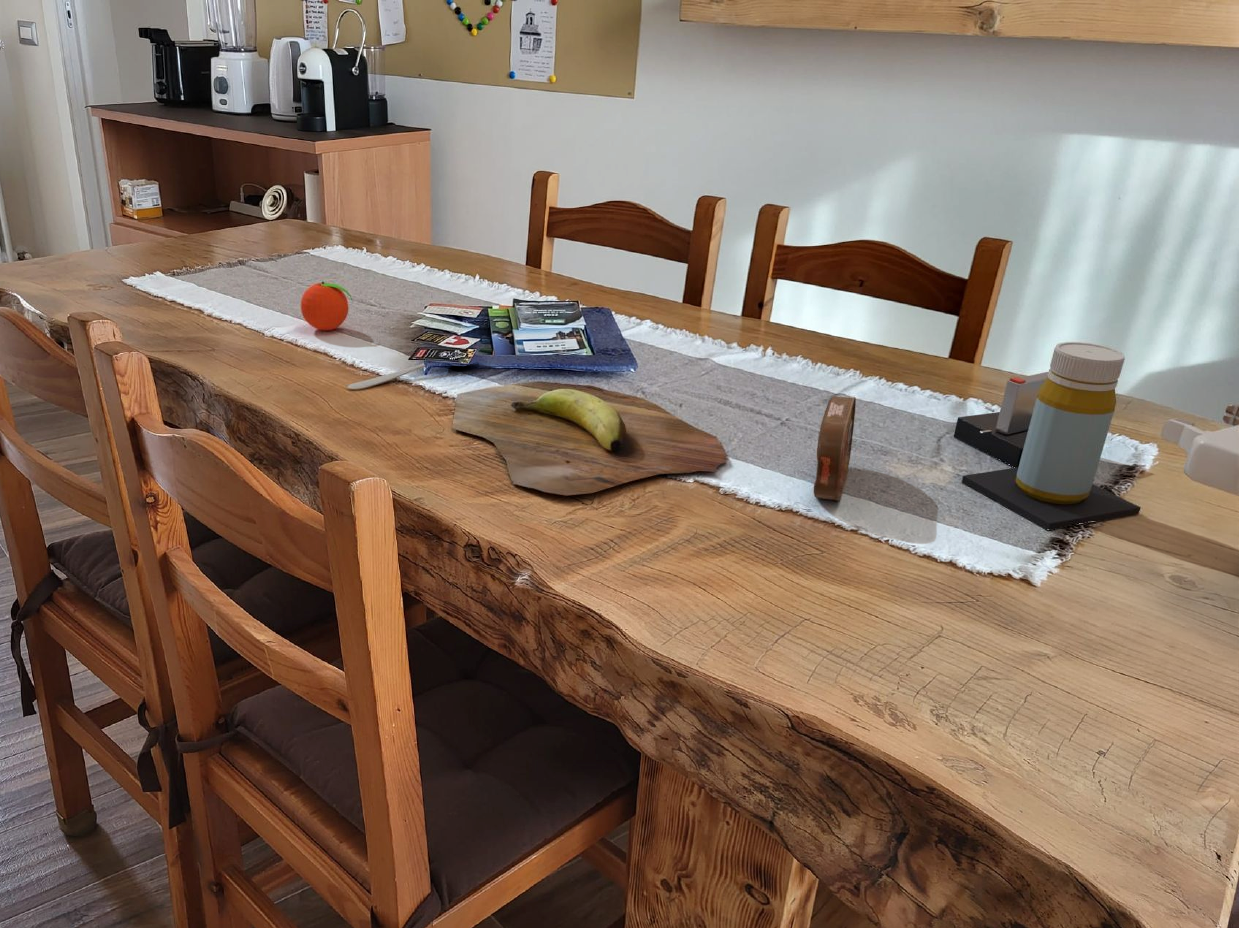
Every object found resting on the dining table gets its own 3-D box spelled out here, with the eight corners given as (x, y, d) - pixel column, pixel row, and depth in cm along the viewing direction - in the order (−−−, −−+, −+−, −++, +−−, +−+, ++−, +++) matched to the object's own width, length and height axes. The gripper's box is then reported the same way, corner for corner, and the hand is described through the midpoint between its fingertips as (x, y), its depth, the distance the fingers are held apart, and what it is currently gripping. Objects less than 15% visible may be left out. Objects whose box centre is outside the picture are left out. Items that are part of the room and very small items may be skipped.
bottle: (1001, 478, 109) (1036, 340, 103) (1062, 477, 110) (1101, 340, 103) (1036, 507, 103) (1076, 362, 96) (1102, 505, 104) (1146, 362, 97)
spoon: (490, 366, 141) (490, 354, 140) (355, 394, 129) (355, 381, 128) (473, 358, 144) (473, 347, 143) (340, 384, 132) (339, 372, 131)
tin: (836, 514, 102) (850, 435, 98) (804, 509, 103) (817, 430, 99) (850, 460, 115) (863, 388, 111) (821, 455, 116) (833, 383, 112)
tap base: (1022, 421, 128) (1027, 401, 126) (1109, 462, 117) (1116, 440, 116) (936, 433, 123) (941, 412, 122) (1019, 476, 112) (1025, 453, 111)
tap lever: (1044, 418, 122) (1058, 367, 119) (1056, 422, 120) (1070, 371, 118) (994, 430, 117) (1007, 378, 115) (1006, 435, 116) (1020, 382, 113)
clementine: (363, 326, 156) (360, 278, 153) (346, 338, 150) (344, 289, 147) (312, 321, 157) (309, 274, 154) (294, 334, 151) (291, 285, 148)
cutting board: (765, 466, 113) (770, 433, 111) (548, 514, 100) (550, 477, 98) (593, 373, 139) (595, 345, 138) (405, 401, 127) (405, 371, 125)
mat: (1047, 469, 114) (1049, 462, 114) (1138, 514, 104) (1141, 507, 104) (961, 482, 110) (962, 475, 110) (1047, 530, 100) (1049, 523, 100)
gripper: (1283, 537, 79) (1116, 471, 89) (1416, 489, 88) (1250, 434, 98) (1314, 461, 76) (1137, 402, 86) (1448, 420, 85) (1273, 371, 96)
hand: (1198, 419), depth 92 cm, fingers open, 8 cm apart
